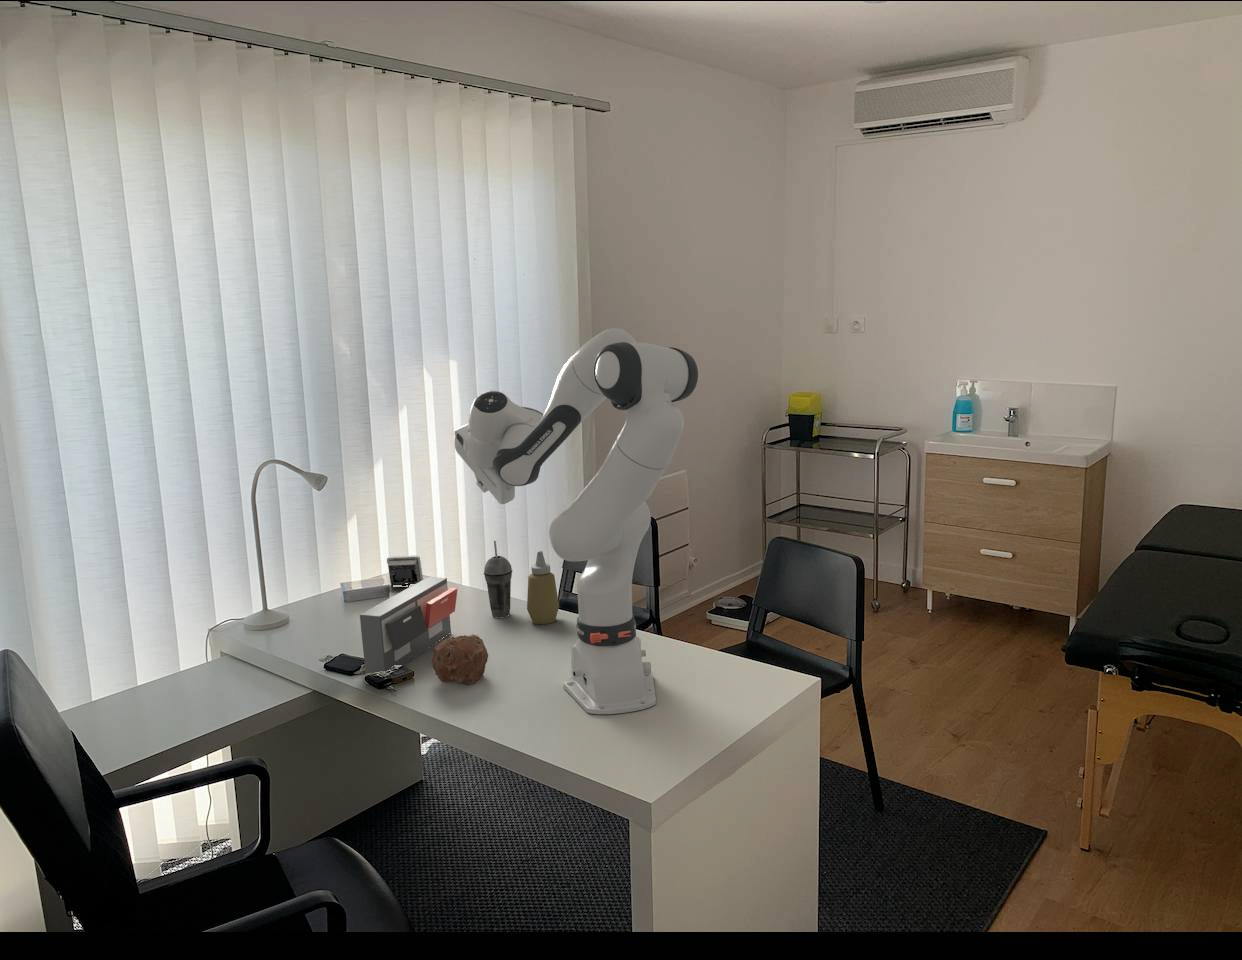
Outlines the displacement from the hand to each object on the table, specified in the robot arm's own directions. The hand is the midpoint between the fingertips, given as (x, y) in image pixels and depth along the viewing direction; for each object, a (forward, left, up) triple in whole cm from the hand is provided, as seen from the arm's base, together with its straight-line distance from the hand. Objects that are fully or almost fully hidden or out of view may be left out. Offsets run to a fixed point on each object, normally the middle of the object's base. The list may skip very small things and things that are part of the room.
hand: (482, 487), depth 220 cm
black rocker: (-18, +19, -29) cm, 39 cm away
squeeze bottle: (+2, -13, -36) cm, 38 cm away
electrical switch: (+44, +21, -36) cm, 61 cm away
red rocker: (-6, +12, -29) cm, 32 cm away
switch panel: (-10, +20, -36) cm, 42 cm away
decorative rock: (-29, +9, -36) cm, 47 cm away
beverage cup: (+10, -3, -36) cm, 37 cm away
